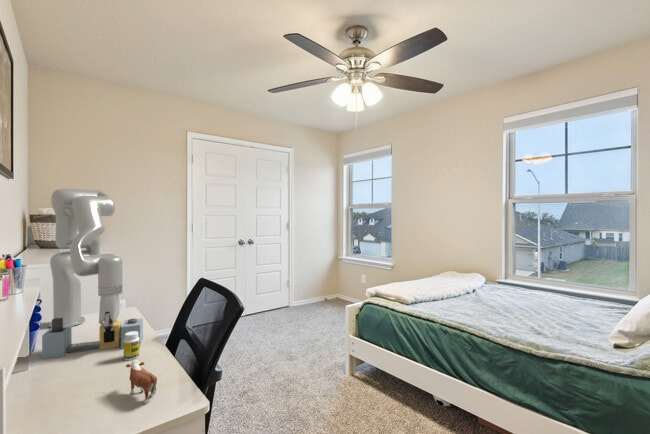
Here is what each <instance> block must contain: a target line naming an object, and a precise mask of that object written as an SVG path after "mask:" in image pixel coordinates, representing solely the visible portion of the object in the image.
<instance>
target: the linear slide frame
mask: <svg viewBox="0 0 650 434" xmlns="http://www.w3.org/2000/svg"><path fill="white" fill-rule="evenodd" d="M143 321H144V320H143V318H129V319H124V322H123V323H122V324H121V346H120V347H121V350H122V349H123V350H124V340H125V334H126V333H128V332H131V331H137V332H138V337H139V339H140V341H139V348H141V345H142V342H143V339H144V329H143V328H144V326H143V325H144V322H143ZM72 328H73V326H63V330H62V331H58V332H52V328H50V327H49V329H48V330H47V331H45V333H44V334H42V336H41V343H42V344H41V347H42V348H41V350H42V352H41V355H42V357H41V358H42V360H46V359H53V358H61V357H62V358H63V357H65V356H66V355H67V354H68V353H67V347H68V345H69V344H73V343H72V342H73V341H72V338H73V337H72V336H73V335H72V333H73V332H72Z"/></svg>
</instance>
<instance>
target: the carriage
mask: <svg viewBox="0 0 650 434" xmlns="http://www.w3.org/2000/svg"><path fill="white" fill-rule="evenodd" d="M109 325H111V324H109ZM121 327H122V320H117V321H115V322H114V326H113V330H114V341H113V342H106V343H104V322H103V323H102V324H100V326H99V341H100V349H99V350H103V349H105V350H106V349H112V348H120V347H119V340H120V338H121Z"/></svg>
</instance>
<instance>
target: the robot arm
mask: <svg viewBox="0 0 650 434" xmlns="http://www.w3.org/2000/svg"><path fill="white" fill-rule="evenodd" d="M50 198H51V199H50V202H51V205H52V206H51V207H52V209H53V212H54V215H55V234H54V235H55V236H54V237H55V245H56V247H57V248H58V249H62V250H69V251H62V252H58V253H55V254H53V255H52V256H51V258H50V259H49V266H50V271H51V276H52V297H53V298H52V299H53V300H52V301H53V302H52V304H53V306H52V309H53V318H52V319H55V318H63V326H72V327H75V325H76V326H78V324H79V325H81V324H83V323H84V322H86V318H85V316H82V300H81V299H82V298H81V297H82V295H81V292H82V289H81V288H82V287H81V281H80V279H79V278H78V277H90V276H97V288H98V289H97V296H98V297H100V299H99V310H98V311H99V316H98V323H99V325H102V323H104V343H106V342H113V341H114V330H113V326H114V322H115V321H118V318H119V316H120V308H121V307H120V295H121V294H123V258H122V257H121V256H117V255H115V254H113V253H100V251H101V247H100V246H101V235H102V234H103V233H104V232H105V230H106V227H105V225H104V220H103V217H110V216H113V215H114V213H115V211H116V205H115V202H114V200H113V198H112V197H110V196H109V195H108V194H106V193H105V192H103V191H101V190H98V189H84V188H83V189H82V188H81V189H80V188H59V189H55V190H54V191H53V192H52V194H51V197H50ZM83 248H85V250H84V249H83ZM82 249H83V250H82ZM77 276H78V277H77ZM109 324H111V325H109ZM48 327H49V328H50V327H51V328H52V321H50V322H49V323H48Z"/></svg>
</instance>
